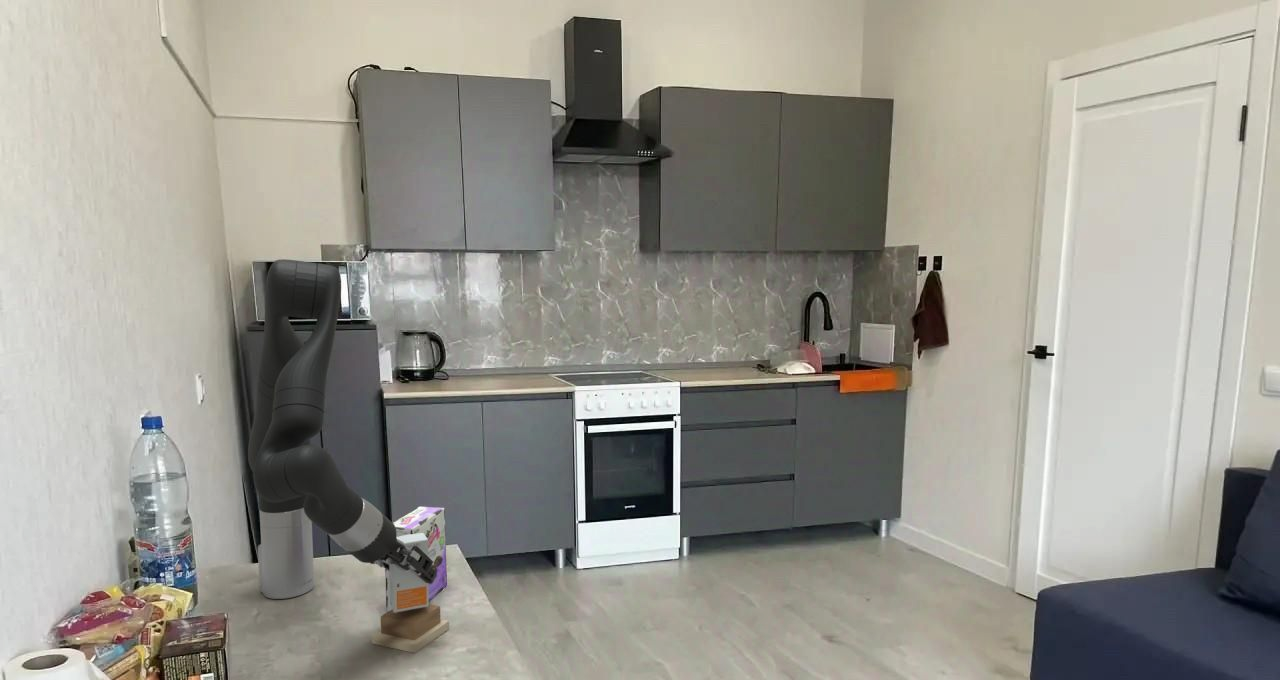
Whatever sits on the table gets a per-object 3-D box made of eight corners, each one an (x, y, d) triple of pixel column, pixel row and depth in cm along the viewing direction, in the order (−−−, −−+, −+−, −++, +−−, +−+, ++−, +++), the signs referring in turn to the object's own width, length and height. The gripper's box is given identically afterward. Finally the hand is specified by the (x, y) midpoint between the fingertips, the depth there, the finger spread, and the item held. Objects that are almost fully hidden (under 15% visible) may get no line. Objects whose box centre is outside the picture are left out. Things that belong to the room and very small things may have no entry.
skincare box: (393, 614, 122) (391, 544, 121) (389, 604, 126) (387, 537, 125) (430, 606, 125) (428, 538, 124) (425, 597, 128) (423, 531, 128)
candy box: (414, 615, 134) (411, 528, 133) (385, 613, 135) (382, 526, 134) (448, 585, 147) (446, 506, 146) (421, 583, 148) (419, 504, 147)
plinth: (372, 643, 123) (371, 618, 123) (407, 620, 132) (407, 596, 131) (415, 653, 120) (414, 626, 120) (448, 629, 128) (448, 604, 128)
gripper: (406, 513, 114) (458, 561, 125) (341, 502, 120) (396, 548, 132) (381, 557, 110) (437, 603, 121) (315, 543, 116) (374, 587, 127)
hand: (415, 574), depth 126 cm, fingers closed on skincare box, 6 cm apart
